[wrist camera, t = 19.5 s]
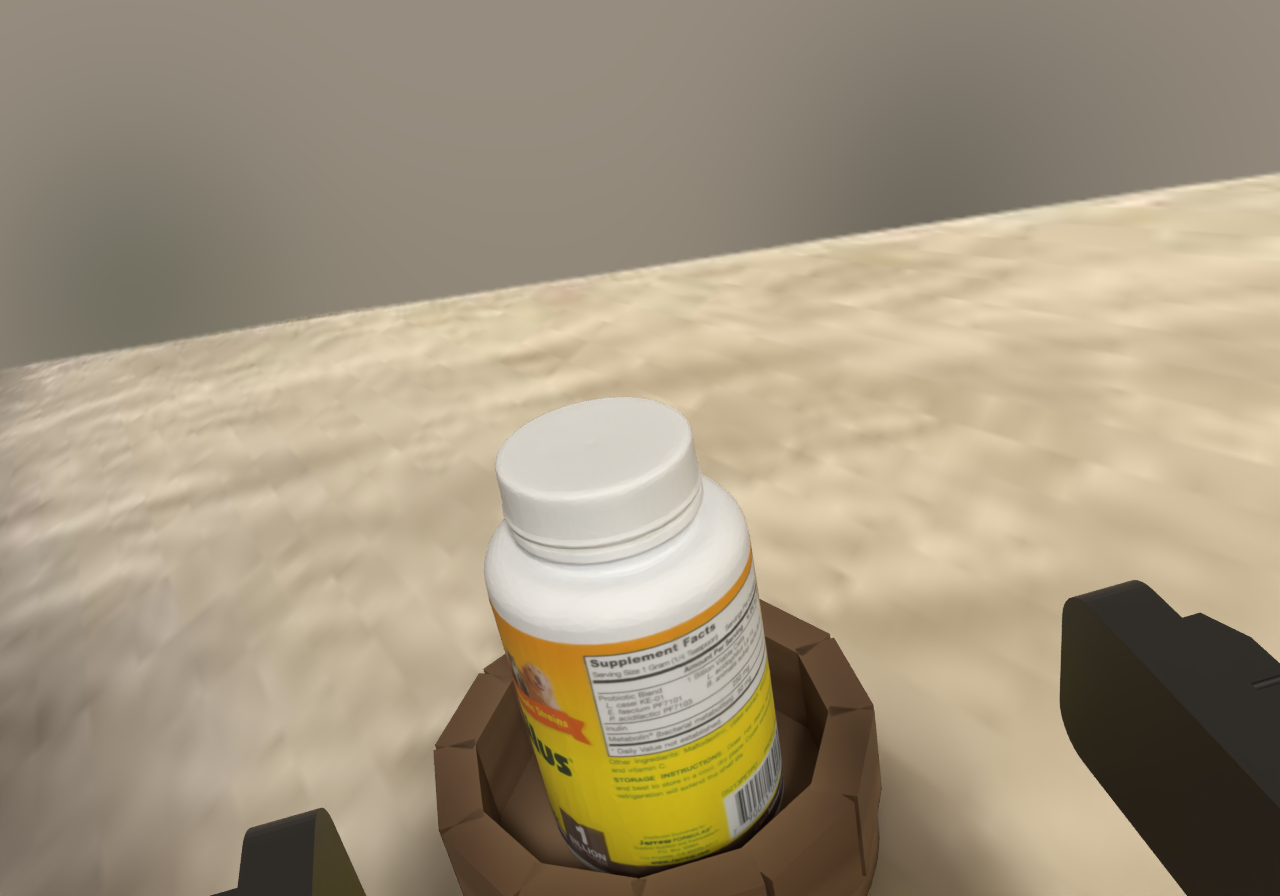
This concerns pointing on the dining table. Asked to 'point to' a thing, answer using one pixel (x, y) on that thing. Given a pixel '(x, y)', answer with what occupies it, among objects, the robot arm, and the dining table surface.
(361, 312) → the dining table surface
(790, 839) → the brown wooden bowl
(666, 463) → the supplement bottle
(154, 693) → the dining table surface
